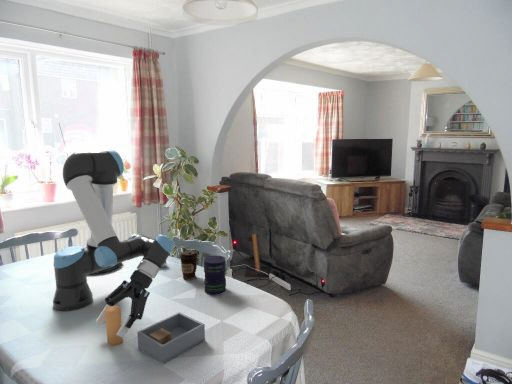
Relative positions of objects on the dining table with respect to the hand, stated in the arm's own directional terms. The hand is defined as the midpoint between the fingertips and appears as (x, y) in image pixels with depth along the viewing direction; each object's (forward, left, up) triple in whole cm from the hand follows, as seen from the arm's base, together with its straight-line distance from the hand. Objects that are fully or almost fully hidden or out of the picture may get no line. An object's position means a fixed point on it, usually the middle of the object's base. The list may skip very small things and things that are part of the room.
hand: (108, 329), depth 127 cm
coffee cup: (+32, +51, -6) cm, 60 cm away
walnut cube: (+17, -8, -4) cm, 19 cm away
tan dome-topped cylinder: (+2, +1, -5) cm, 6 cm away
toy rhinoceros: (+17, +73, -6) cm, 75 cm away
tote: (+21, -6, -5) cm, 22 cm away
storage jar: (+42, +33, -6) cm, 54 cm away
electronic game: (-13, +79, -6) cm, 81 cm away
